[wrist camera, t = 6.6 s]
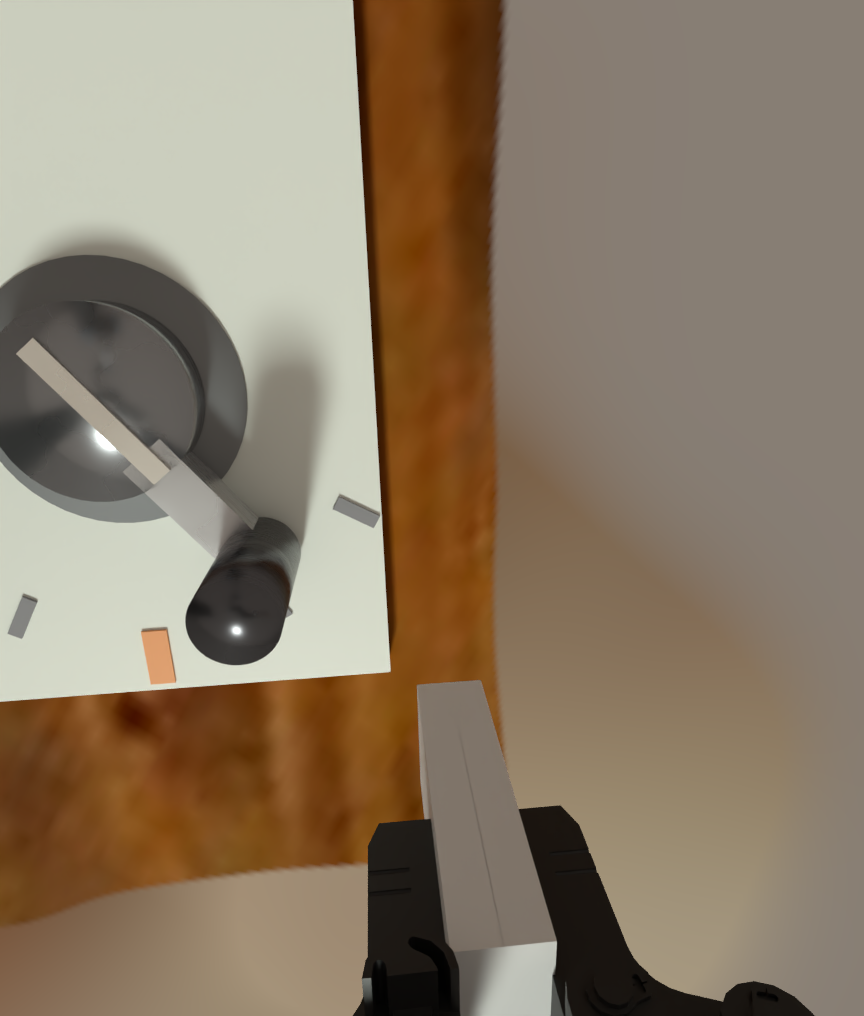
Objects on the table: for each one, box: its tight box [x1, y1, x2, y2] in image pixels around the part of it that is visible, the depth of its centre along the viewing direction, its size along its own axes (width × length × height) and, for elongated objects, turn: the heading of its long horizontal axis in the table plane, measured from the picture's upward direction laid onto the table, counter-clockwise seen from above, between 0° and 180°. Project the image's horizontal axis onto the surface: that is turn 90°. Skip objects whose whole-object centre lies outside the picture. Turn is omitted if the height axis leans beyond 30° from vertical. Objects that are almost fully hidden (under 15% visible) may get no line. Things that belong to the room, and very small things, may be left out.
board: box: [0, 0, 391, 702], centre depth 22 cm, size 22×17×1 cm
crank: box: [0, 300, 301, 665], centre depth 19 cm, size 11×6×6 cm, turn 40°
